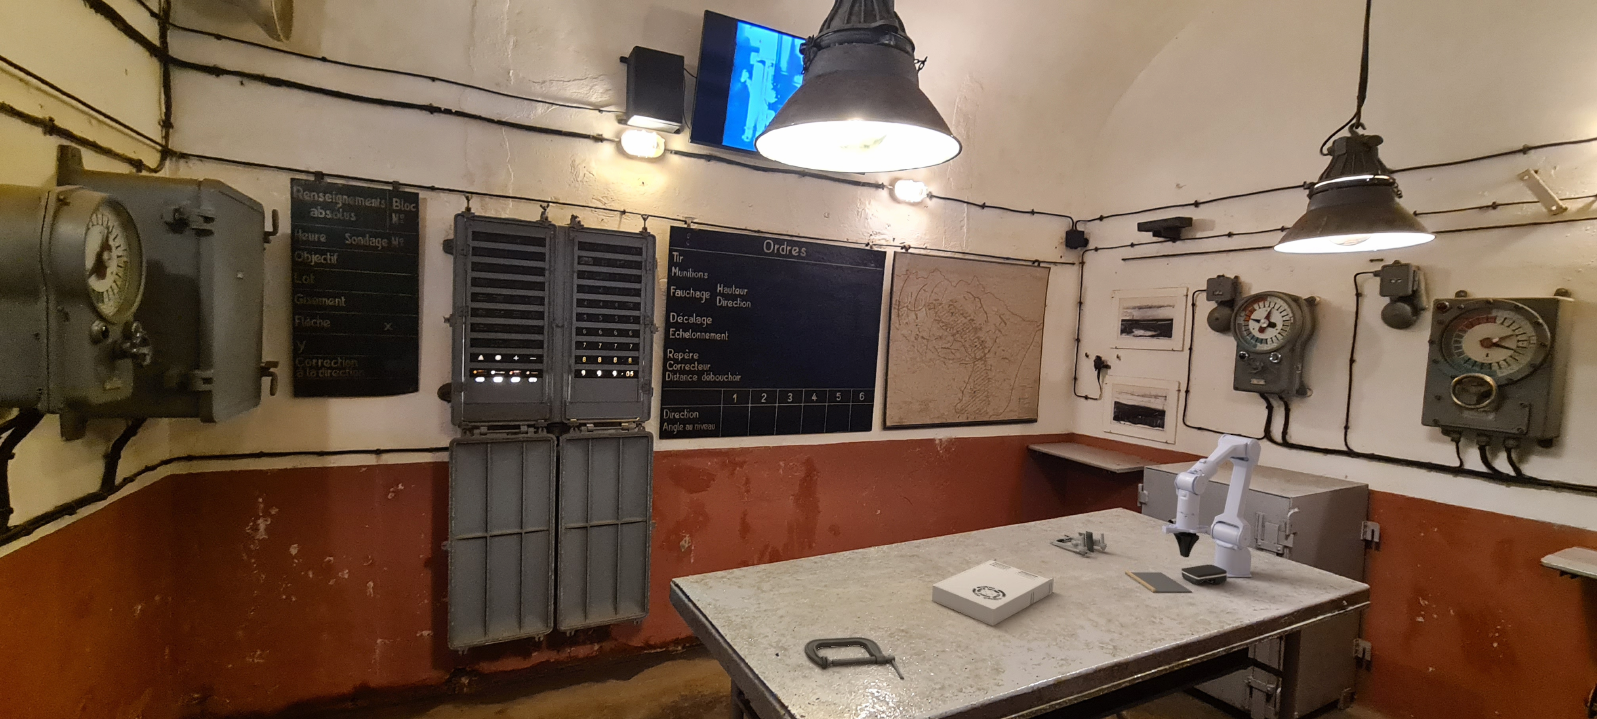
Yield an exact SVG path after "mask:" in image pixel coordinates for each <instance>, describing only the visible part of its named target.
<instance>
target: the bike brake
mask: <svg viewBox="0 0 1597 719" xmlns="http://www.w3.org/2000/svg"><path fill="white" fill-rule="evenodd" d="M1077 533H1078V534H1077V535H1078V537H1075V536H1070V535H1067V534H1064V535H1063V536H1064V537H1063V538H1059V539H1056V540H1054V539H1051V540H1050V542H1049V544H1051V545H1053V546H1054V545H1055V546H1058V547H1062V548H1069V549H1073V550H1077V551H1078V552H1079V553H1080V554H1081V555H1086V554H1087V552H1090V553H1094V552H1095V549H1094V547H1097V548H1100V550H1101V551H1102V552H1105V551H1106V549H1107V547H1108V546H1107V543H1105V533H1104V532H1101V533H1100V538H1098V537H1095V538H1094V534H1093V532H1092V531H1087V530H1085V533H1083V532H1079V531H1078V532H1077ZM1063 542H1064V543H1063ZM1066 542H1067V543H1066ZM1068 542H1070V543H1068Z"/></svg>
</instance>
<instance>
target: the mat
mask: <svg viewBox="0 0 1597 719" xmlns="http://www.w3.org/2000/svg"><path fill="white" fill-rule="evenodd" d="M1124 574H1125V575H1127V576H1128V577H1129V578H1131V579H1132V580H1133V581H1135V582H1136V583H1138V584H1140V585H1141V586H1143V587H1144V588H1146V589H1147V590H1149V591H1151V592H1152V593H1153V594H1155V593H1158V594H1159V593H1160V594H1161V593H1163V594H1164V593H1165V594H1166V593H1170V594H1171V593H1176V594H1177V593H1179V594H1180V593H1187V594H1189V593H1193V591H1192V590H1190V589H1189V588H1187V587H1186V586H1184V585H1182V584H1180V583H1179V582H1177V581H1176V580H1174V579H1172V578H1171V577H1170V576H1168V575H1166V574H1164V573H1163V572H1162V571H1161V572H1159V571H1157V572H1155V571H1152V572H1151V571H1150V572H1149V571H1148V572H1144V571H1143V572H1141V571H1139V572H1138V571H1137V572H1136V571H1134V572H1131V571H1130V570H1124Z"/></svg>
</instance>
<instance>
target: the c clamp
mask: <svg viewBox="0 0 1597 719" xmlns="http://www.w3.org/2000/svg"><path fill="white" fill-rule="evenodd" d="M848 645H849V646H848ZM850 645H860V646H859V647H861V646H863V647H862V648H864V647H865V648H866V649H865V648H864V649H865V650H866V651H867V650H868V651H867V653H868V654H869V656H864V657H863V656H859V657H845V658H832V659H829V657H828V656H827V655H819V653H818V650H819V649H818V648H820V647H829V648H832V647H831V646H845V647H851V646H850ZM817 649H818V650H817ZM820 649H821V648H820ZM804 651H805V653H806V655H807V654H808V655H807V656H808V657H809V658H810V659H811V660H812V661H814V662H815V663H816V664H818V665H820V666H821V667H822V666H823V667H822V669H823V668H826V669H828V668H829V667H831V665H832V666H836V665H837V666H846V665H847V666H848V664H852V665H853V664H855V665H865V663H866V664H869V665H870V664H876V665H877V664H880V665H886V663H891V664H892V666H893V668H894V669H895V672H896V671H897V672H896V673H897V675H898V678H899V679H900V680H905V677H904V675H902V673H901V671H900V669H899V668H898V666H897V664H896V656H895V654H890V653H889V654H888V655H885V654H884V653H883V651H882V649H881V647H880V646H879V643H877V642H876V641H874V640H873V639H871V638H867V637H860V636H857V637H856V636H853V637H832V638H831V637H830V638H815V639H812V640H809V641H808V642H806V643H805V646H804ZM870 655H871V656H870ZM828 666H829V667H828Z"/></svg>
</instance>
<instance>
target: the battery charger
mask: <svg viewBox="0 0 1597 719" xmlns="http://www.w3.org/2000/svg"><path fill="white" fill-rule="evenodd" d="M1180 572H1181V577H1182V579H1183V580H1185V581H1187V582H1190V583H1192V584H1194V585H1200V584H1201V583H1203V582H1208V583H1210V584H1212V585H1218V584H1223V583H1225V582H1227V579H1228V577H1227V571H1226V570H1224V569H1222V568H1220V567H1217V566H1215V565H1214V564H1202V565H1195V566H1190V567H1182V568H1181V571H1180Z"/></svg>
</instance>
